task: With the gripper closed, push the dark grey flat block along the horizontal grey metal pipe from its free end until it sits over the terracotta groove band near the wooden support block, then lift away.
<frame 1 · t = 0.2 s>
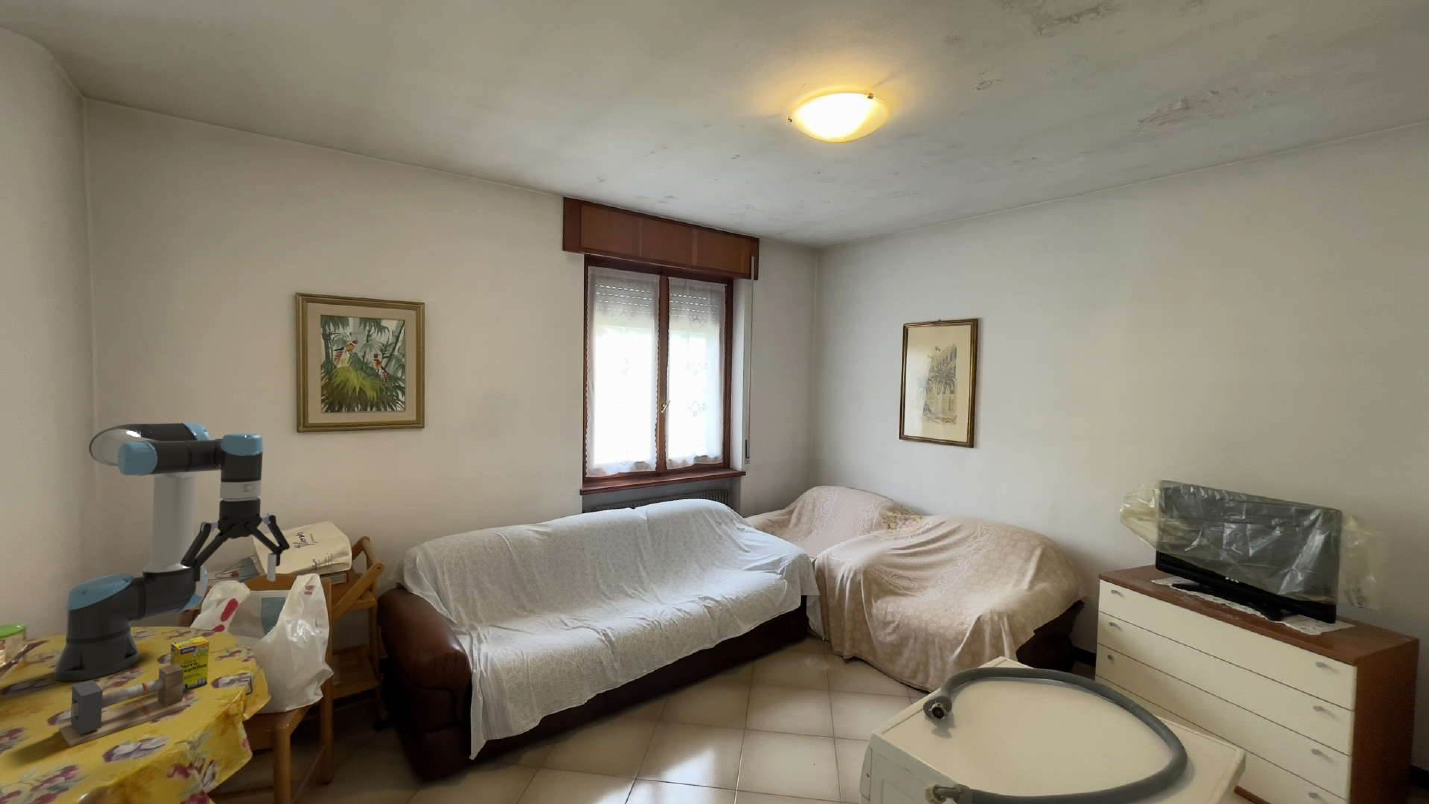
hand: (237, 587, 134), 28 cm above the table, fingers open, 13 cm apart
pipe rig: (124, 719, 126), on the table
dark grey flat block: (86, 706, 121), point 5 cm above the table, slide at 0.0 cm
supplement box: (188, 686, 141), on the table
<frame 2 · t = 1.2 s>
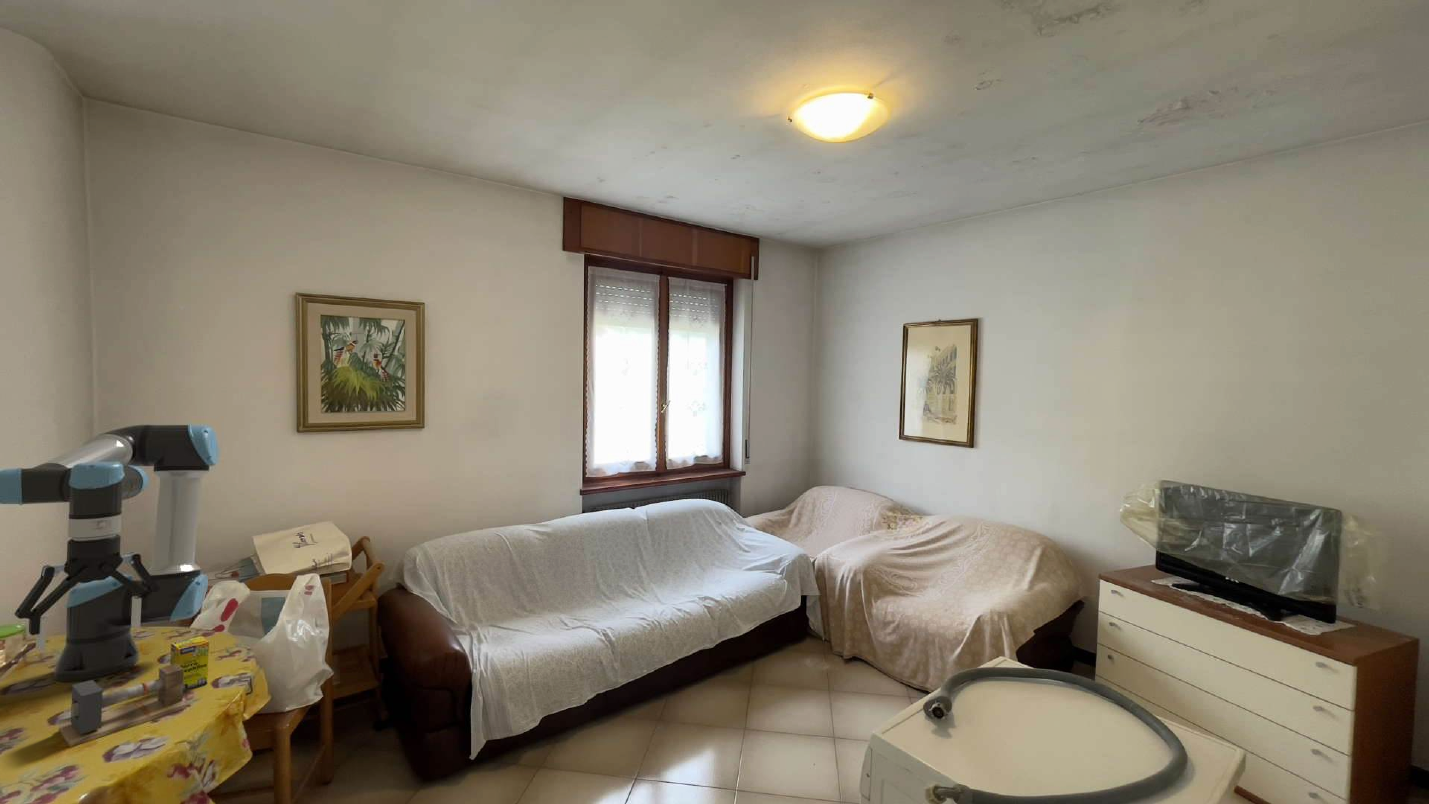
hand: (90, 638, 118), 22 cm above the table, fingers open, 13 cm apart
nothing on the table moved.
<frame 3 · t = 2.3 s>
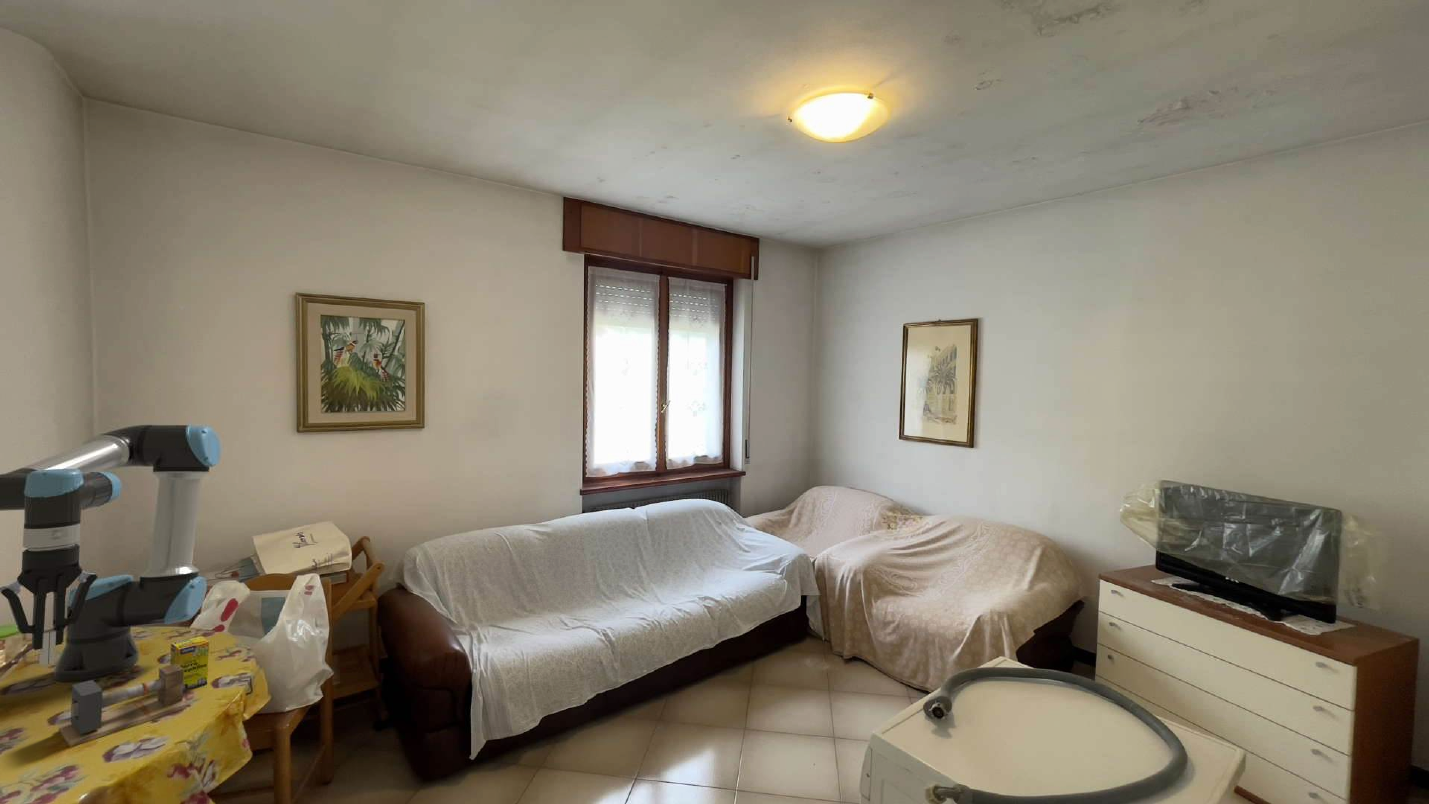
hand: (46, 662, 114), 18 cm above the table, fingers closed
nothing on the table moved.
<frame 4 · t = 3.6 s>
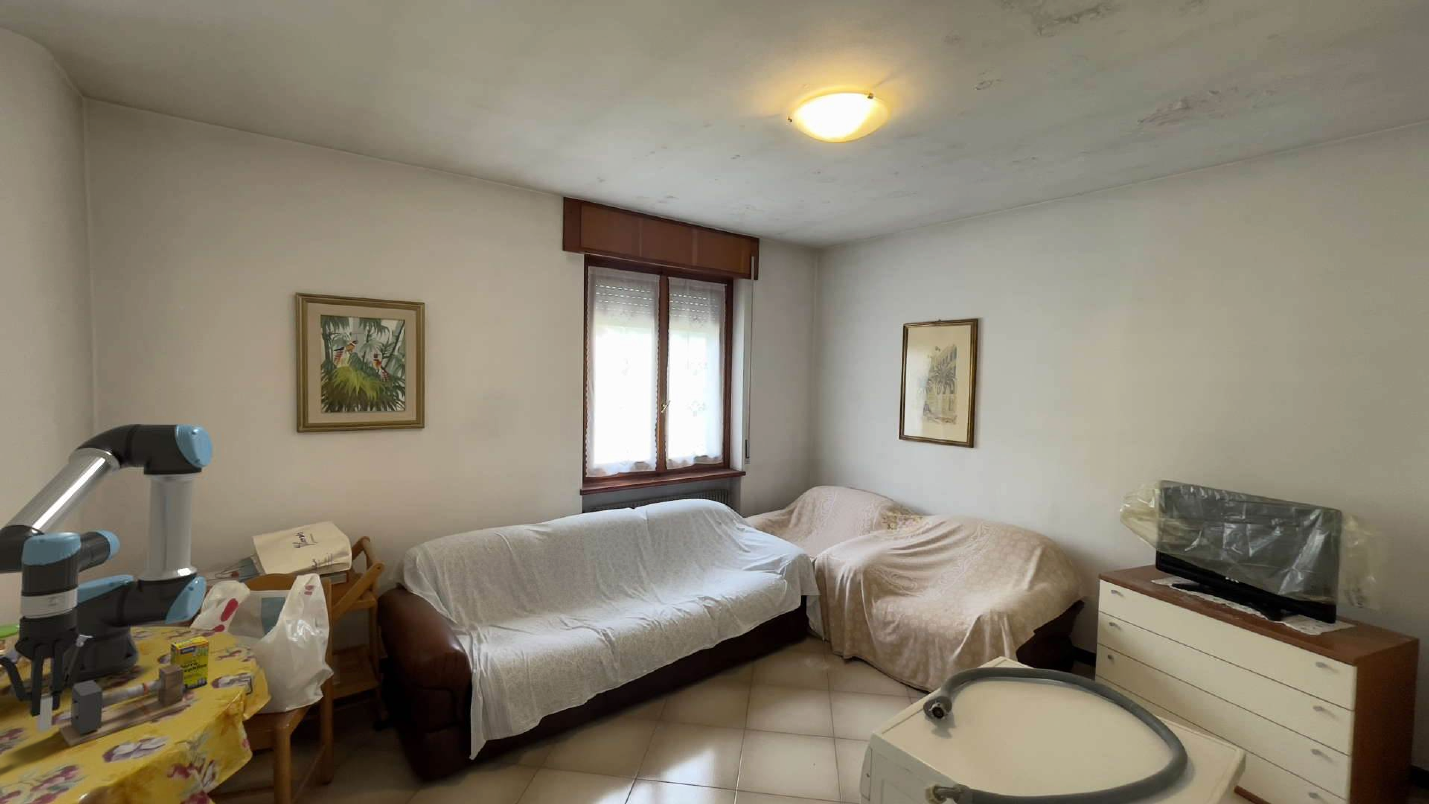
hand: (44, 728, 113), 5 cm above the table, fingers closed
nothing on the table moved.
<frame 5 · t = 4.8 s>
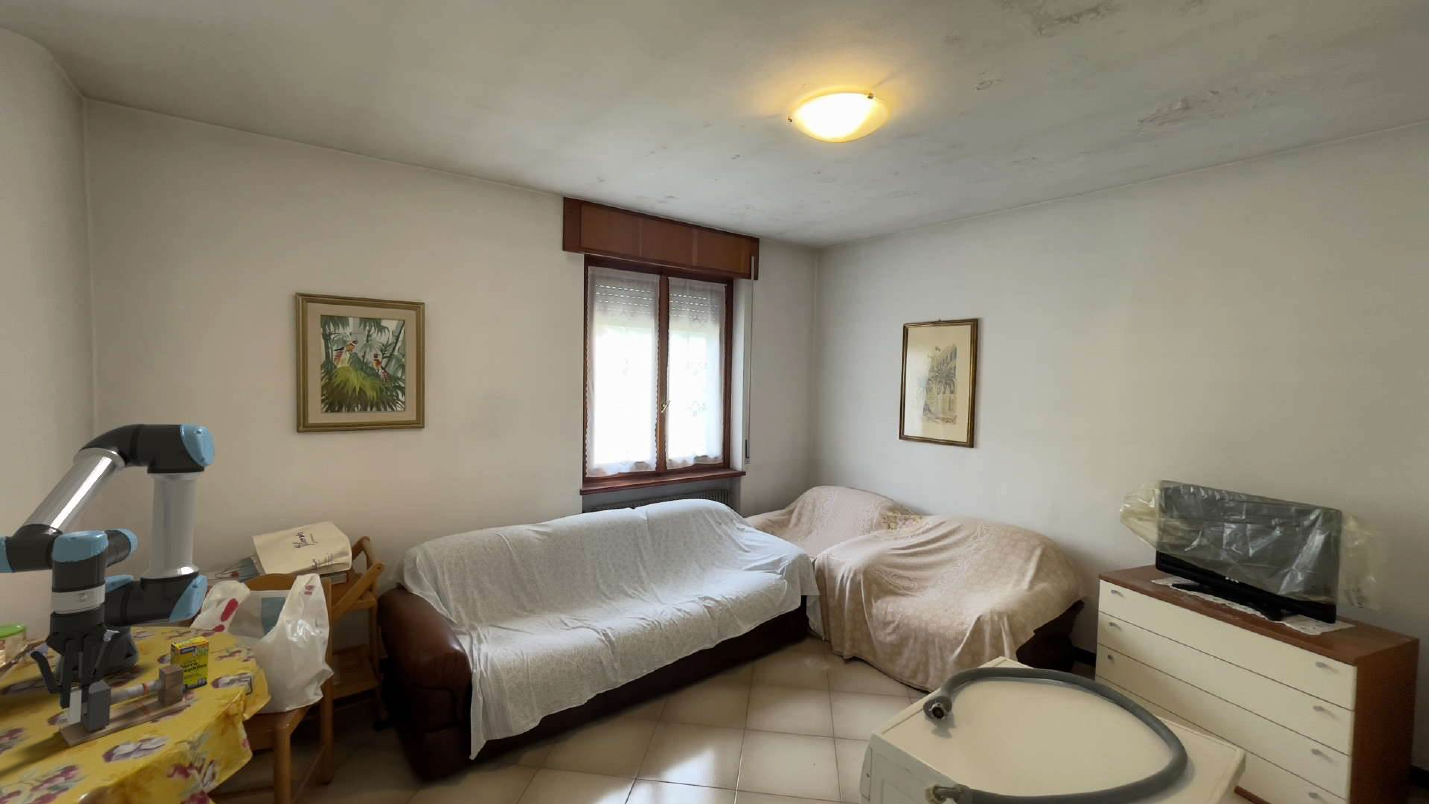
hand: (73, 720, 117), 5 cm above the table, fingers closed
dark grey flat block: (94, 703, 122), point 5 cm above the table, slide at 1.2 cm, touching gripper
everything else where it was.
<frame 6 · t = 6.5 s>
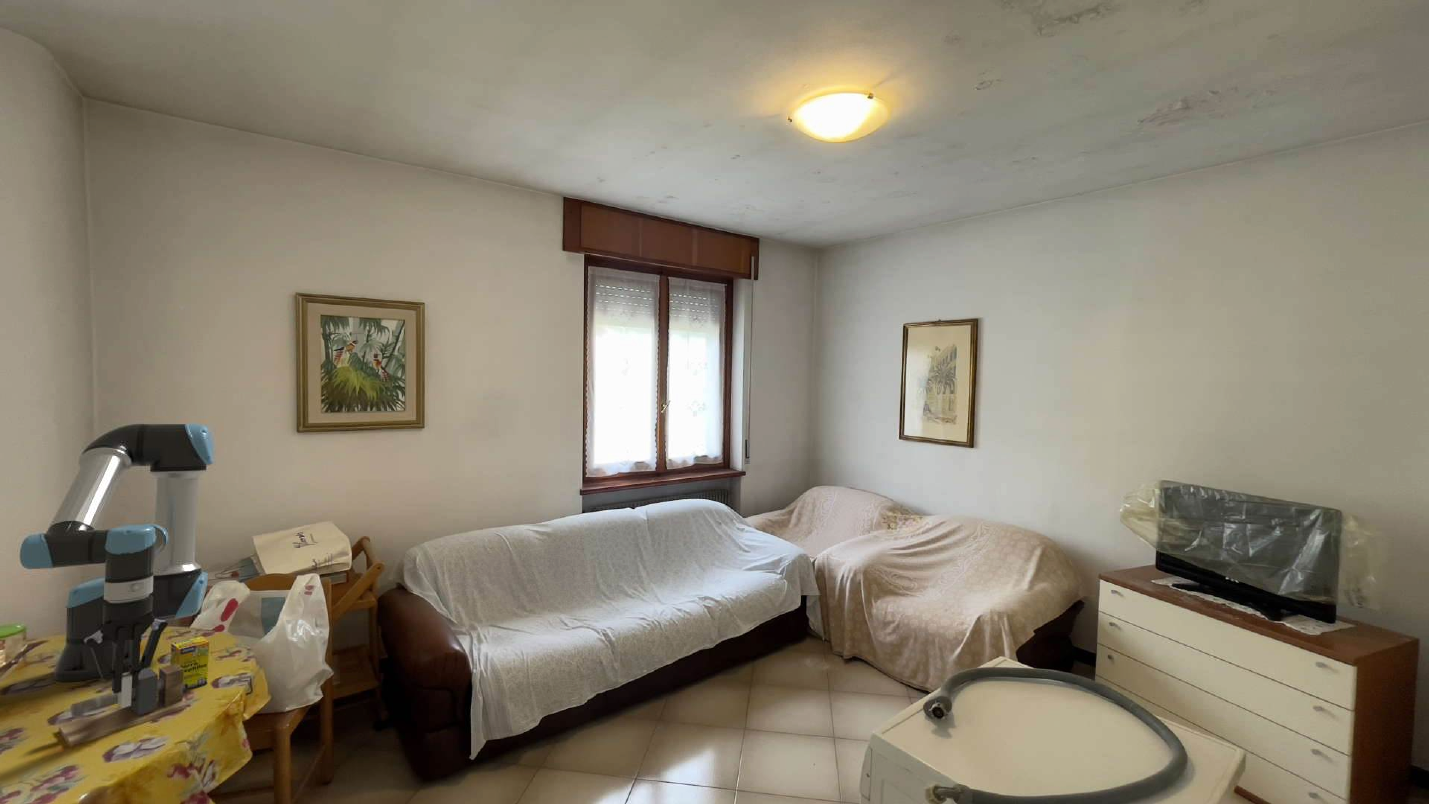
hand: (124, 704, 123), 5 cm above the table, fingers closed
dark grey flat block: (142, 689, 128), point 5 cm above the table, slide at 8.7 cm, touching gripper
everything else where it was.
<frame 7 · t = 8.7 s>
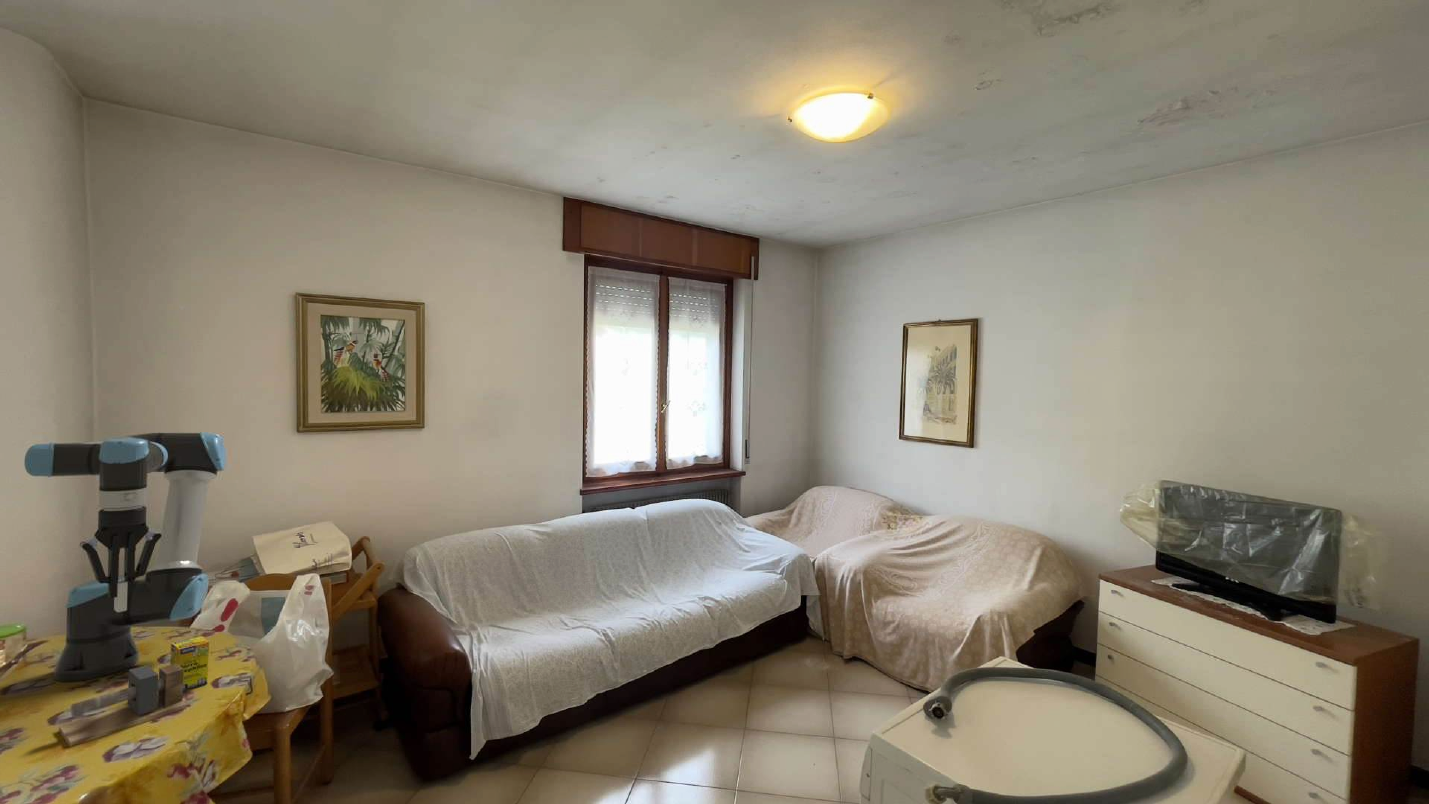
hand: (120, 609, 128), 24 cm above the table, fingers closed
dark grey flat block: (142, 689, 129), point 5 cm above the table, slide at 8.7 cm
everything else where it was.
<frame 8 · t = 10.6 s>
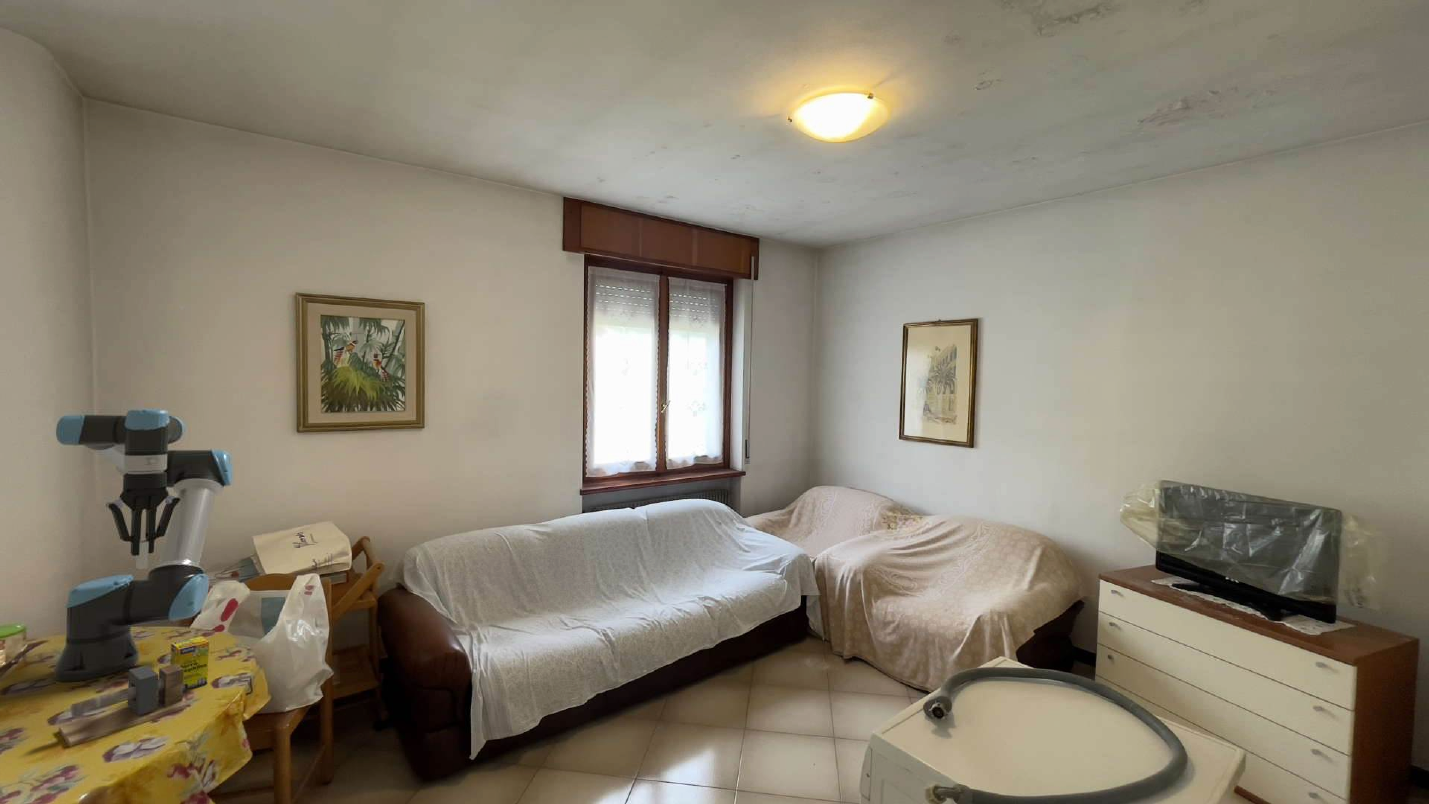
hand: (141, 567, 138), 30 cm above the table, fingers closed
nothing on the table moved.
at the end: dark grey flat block slide at 8.7 cm; dark grey flat block moved 8.7 cm from its start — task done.
